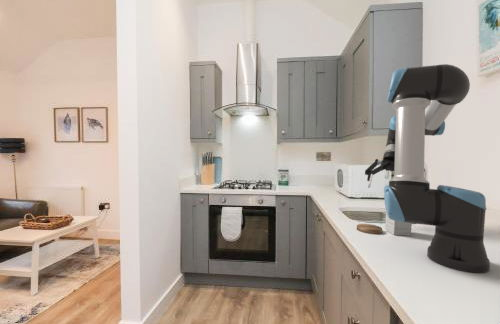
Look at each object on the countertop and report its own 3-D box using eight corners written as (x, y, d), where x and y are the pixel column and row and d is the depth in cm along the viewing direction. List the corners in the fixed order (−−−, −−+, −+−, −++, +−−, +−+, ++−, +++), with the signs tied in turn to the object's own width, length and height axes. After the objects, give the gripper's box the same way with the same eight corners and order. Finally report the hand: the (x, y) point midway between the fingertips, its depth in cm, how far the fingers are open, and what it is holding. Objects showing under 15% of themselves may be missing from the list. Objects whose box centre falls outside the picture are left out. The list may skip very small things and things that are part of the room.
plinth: (387, 234, 106) (387, 230, 106) (364, 233, 105) (364, 230, 105) (373, 227, 116) (373, 223, 116) (352, 226, 115) (352, 223, 115)
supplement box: (411, 236, 104) (413, 205, 104) (393, 235, 105) (395, 204, 104) (401, 230, 112) (402, 202, 111) (384, 229, 112) (385, 201, 112)
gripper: (420, 164, 124) (415, 200, 113) (365, 156, 136) (356, 188, 125) (423, 154, 118) (418, 191, 108) (365, 146, 130) (356, 179, 120)
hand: (385, 189), depth 116 cm, fingers open, 13 cm apart
